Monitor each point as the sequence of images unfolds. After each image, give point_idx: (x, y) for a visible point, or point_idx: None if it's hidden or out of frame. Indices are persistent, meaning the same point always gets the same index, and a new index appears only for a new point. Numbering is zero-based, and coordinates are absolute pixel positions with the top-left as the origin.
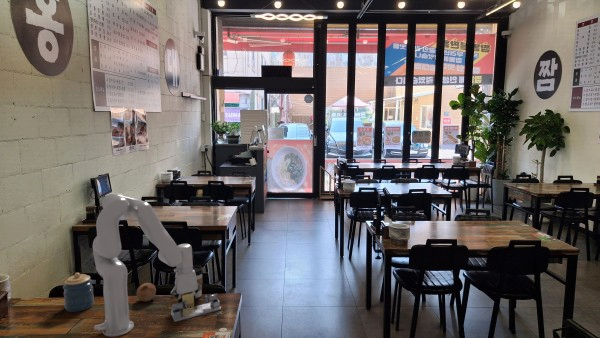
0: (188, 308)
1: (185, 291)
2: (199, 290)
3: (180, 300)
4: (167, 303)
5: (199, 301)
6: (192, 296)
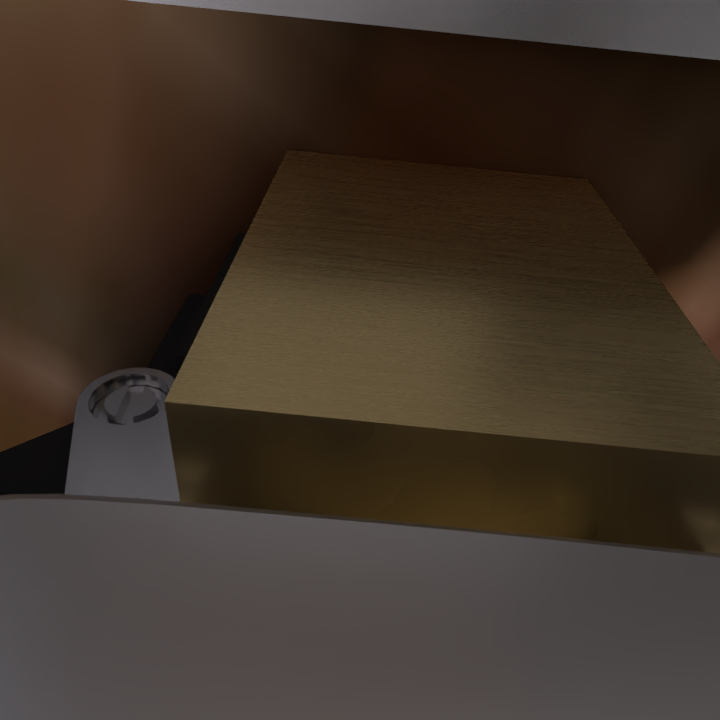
0: (519, 12)
1: (687, 646)
2: None
3: None
4: None
5: (113, 316)
6: (260, 312)
